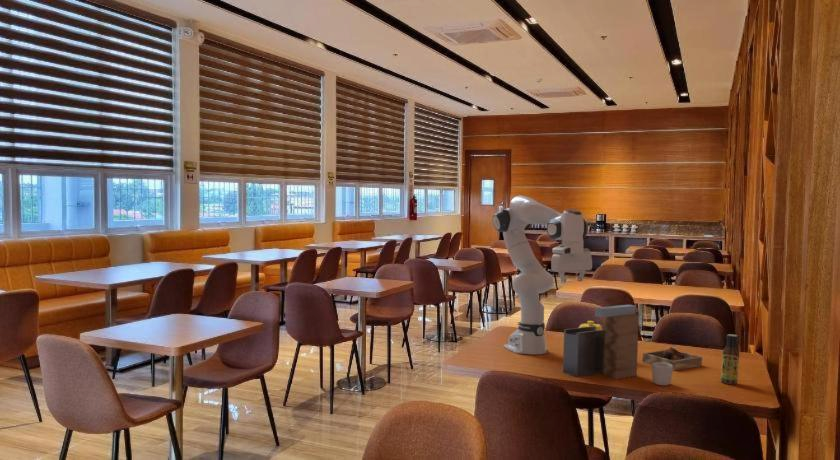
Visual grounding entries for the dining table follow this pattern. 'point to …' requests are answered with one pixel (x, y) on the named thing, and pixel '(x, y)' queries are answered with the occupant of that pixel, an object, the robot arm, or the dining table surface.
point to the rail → (615, 310)
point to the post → (621, 346)
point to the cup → (662, 373)
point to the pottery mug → (671, 354)
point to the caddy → (679, 364)
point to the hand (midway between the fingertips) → (571, 281)
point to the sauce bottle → (730, 361)
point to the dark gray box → (583, 351)
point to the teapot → (591, 323)
